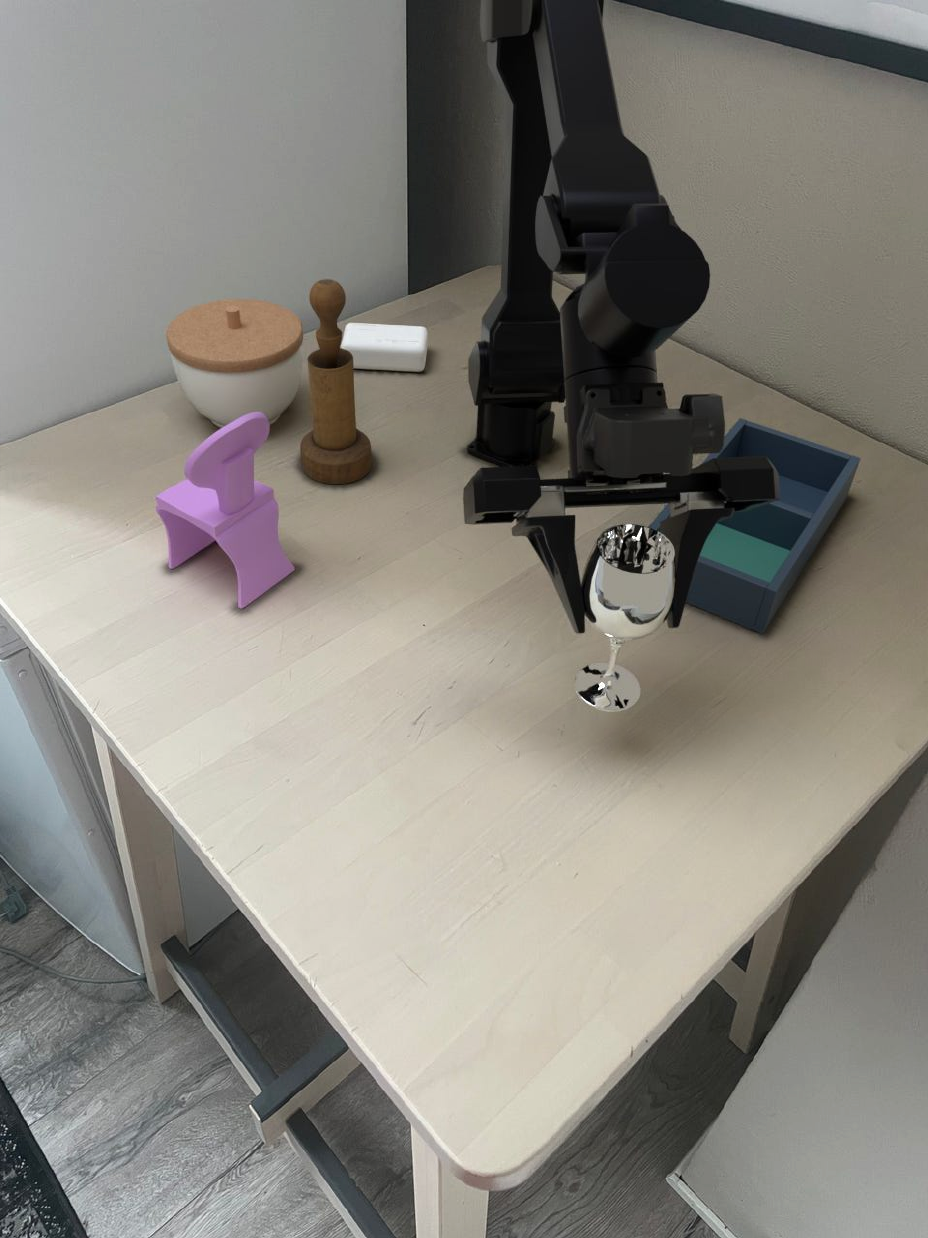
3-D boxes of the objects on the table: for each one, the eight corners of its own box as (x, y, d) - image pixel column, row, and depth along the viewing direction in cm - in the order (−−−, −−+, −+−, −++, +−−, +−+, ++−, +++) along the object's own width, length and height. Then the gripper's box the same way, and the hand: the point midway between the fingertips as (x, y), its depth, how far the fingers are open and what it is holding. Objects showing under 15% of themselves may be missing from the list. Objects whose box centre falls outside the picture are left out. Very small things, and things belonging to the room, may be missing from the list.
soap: (428, 349, 114) (428, 324, 112) (424, 374, 110) (425, 348, 108) (346, 345, 114) (345, 319, 112) (340, 369, 110) (339, 344, 108)
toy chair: (228, 523, 89) (205, 368, 79) (303, 563, 86) (290, 406, 76) (155, 571, 84) (120, 412, 74) (232, 616, 81) (207, 455, 71)
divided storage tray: (630, 580, 86) (638, 537, 83) (729, 457, 100) (739, 417, 97) (762, 634, 82) (776, 591, 79) (846, 498, 96) (860, 457, 93)
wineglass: (594, 730, 66) (622, 591, 58) (548, 672, 70) (568, 533, 61) (667, 702, 68) (704, 563, 60) (619, 646, 72) (647, 508, 63)
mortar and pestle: (288, 473, 95) (271, 289, 83) (321, 439, 100) (309, 258, 87) (352, 491, 94) (344, 306, 81) (383, 455, 98) (380, 274, 86)
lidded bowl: (196, 457, 97) (178, 351, 89) (168, 392, 105) (150, 289, 97) (325, 432, 101) (318, 328, 93) (288, 371, 109) (279, 271, 101)
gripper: (479, 345, 55) (497, 638, 54) (812, 336, 57) (832, 618, 56) (455, 396, 66) (470, 640, 65) (735, 387, 68) (751, 623, 68)
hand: (626, 630), depth 63 cm, fingers closed on wineglass, 5 cm apart
